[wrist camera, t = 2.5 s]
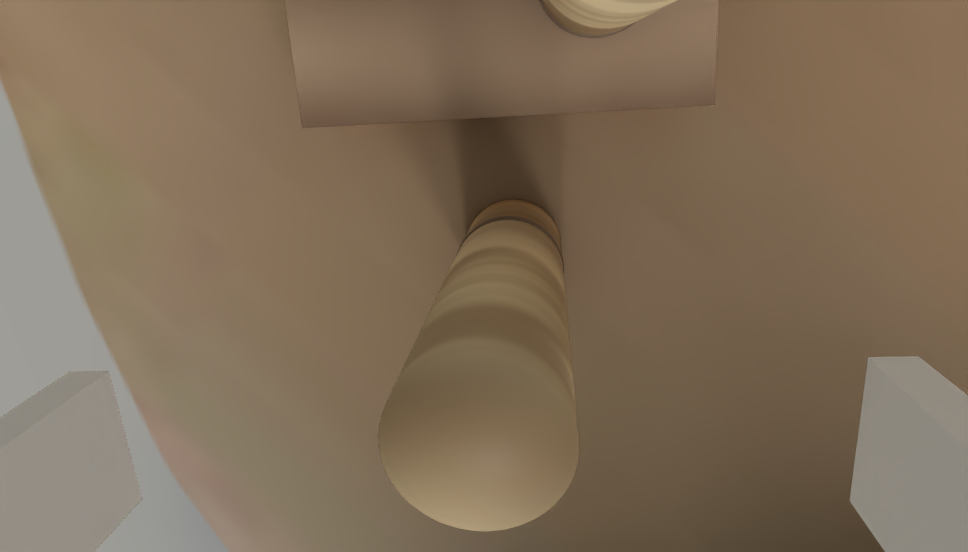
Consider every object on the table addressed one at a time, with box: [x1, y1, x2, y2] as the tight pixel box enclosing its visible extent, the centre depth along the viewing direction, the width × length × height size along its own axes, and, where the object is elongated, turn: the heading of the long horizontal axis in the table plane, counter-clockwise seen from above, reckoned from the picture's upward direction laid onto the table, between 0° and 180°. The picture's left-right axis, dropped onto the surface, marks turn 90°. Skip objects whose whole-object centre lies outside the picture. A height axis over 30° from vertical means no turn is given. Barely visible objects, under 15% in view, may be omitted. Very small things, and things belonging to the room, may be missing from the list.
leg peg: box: [378, 199, 580, 531], centre depth 18 cm, size 4×4×14 cm
